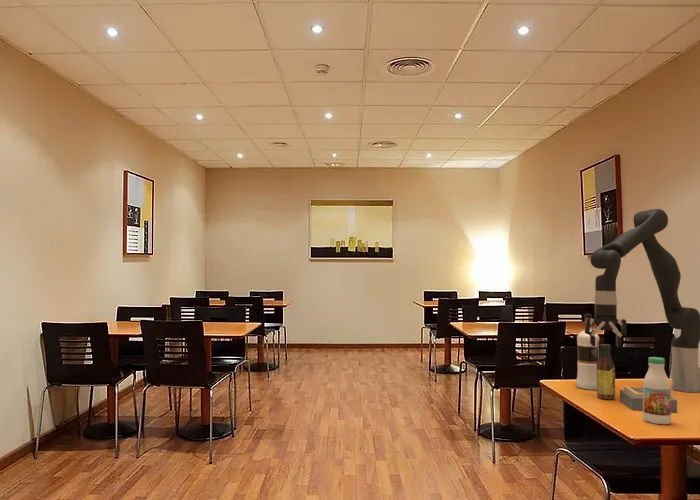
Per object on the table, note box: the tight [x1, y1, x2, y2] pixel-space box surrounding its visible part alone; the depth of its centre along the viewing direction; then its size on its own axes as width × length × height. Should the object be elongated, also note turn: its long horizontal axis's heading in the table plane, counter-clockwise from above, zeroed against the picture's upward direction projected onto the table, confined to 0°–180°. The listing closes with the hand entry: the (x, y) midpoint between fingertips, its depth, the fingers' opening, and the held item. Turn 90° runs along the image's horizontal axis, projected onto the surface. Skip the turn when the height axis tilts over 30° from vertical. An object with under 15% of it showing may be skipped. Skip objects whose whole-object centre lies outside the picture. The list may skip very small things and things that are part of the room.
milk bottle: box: [642, 356, 672, 425], centre depth 173 cm, size 8×8×20 cm
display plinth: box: [619, 385, 678, 413], centre depth 193 cm, size 14×14×6 cm
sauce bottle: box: [596, 343, 616, 400], centre depth 205 cm, size 7×6×20 cm
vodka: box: [575, 313, 600, 391], centre depth 223 cm, size 9×9×30 cm
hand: (605, 346), depth 205 cm, fingers open, 8 cm apart
